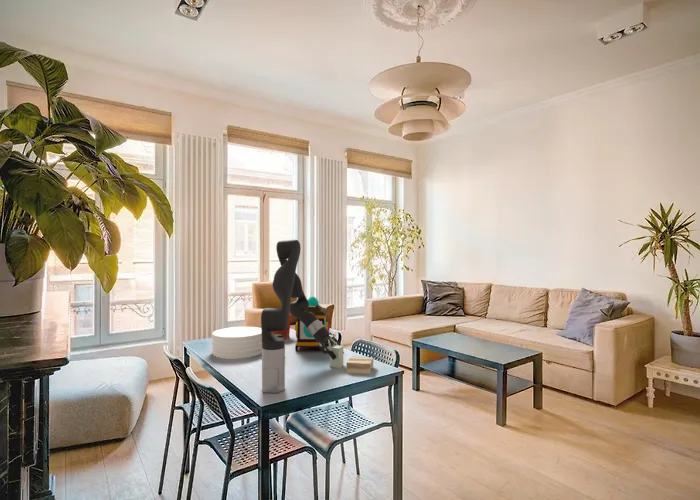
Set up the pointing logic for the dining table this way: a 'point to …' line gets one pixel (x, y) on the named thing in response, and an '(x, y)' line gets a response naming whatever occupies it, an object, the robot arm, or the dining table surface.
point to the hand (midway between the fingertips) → (339, 356)
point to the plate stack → (237, 342)
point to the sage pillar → (339, 353)
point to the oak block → (359, 365)
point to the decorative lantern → (303, 333)
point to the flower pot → (286, 332)
